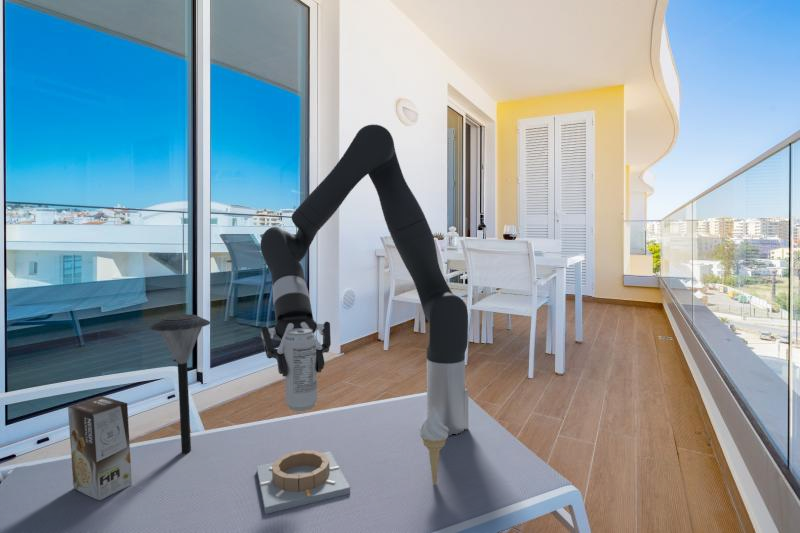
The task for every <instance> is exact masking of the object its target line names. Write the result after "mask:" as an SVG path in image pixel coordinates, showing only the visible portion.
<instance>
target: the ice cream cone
mask: <svg viewBox="0 0 800 533" xmlns="http://www.w3.org/2000/svg"><path fill="white" fill-rule="evenodd" d="M444 424H445V423H444V422H443V420H442V419H441V418H440V417H439V415H438V413H437V411H436V409H435V408H433V410H432V412H431V413H430V415H429V416H428V418H427V417H426V419H425V421H424V422H423V423H422V425H421V426H420V428H419V434H420V438H421V439H422V442H423V446H424V447H425V448H427V450H428V453H429V462H430V470H431V476H432V477H431V478H432V484H433V485H436V484H437V483H438V472H439V463H440V451H441V449H443V447H445V446H446V441H447V438H449V435H448V433H447V432H449V429H448V427H446V426H445V425H444Z"/></svg>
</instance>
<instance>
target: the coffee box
mask: <svg viewBox="0 0 800 533" xmlns="http://www.w3.org/2000/svg"><path fill="white" fill-rule="evenodd" d="M67 413H68V426H69V427H68V428H69V441H70V452H71V453H70V455H71V456H70V457H71V467H72V468H71V469H72V484H73V489H74V490H75V489H76V490H75V491H77V490H78V491H77V492H80V493H82V494H84V495H86V496H88V497H89V498H90V497H91V498H92V499H95V500H97V501H102V500H104V499H105V498H108V497H109V496H112V495H114V494H116V493H118V492H119V491H122V490H123V489H126V488H128V487H130V486H132V484H133V482H132V481H133V480H132V466H131V465H132V464H131V463H132V462H131V449H130V448H131V447H130V446H131V444H130V429H129V426H130V425H129V414H128V413H129V412H128V402H124V401H120V400H116V399H114V398H113V399H112V398H111V397H110V398H109V397H105V396H102V395H101V396H97V397H93V398H90V399H86V400H84V401H80V402H78V403H76V404H72V405H68V406H67Z"/></svg>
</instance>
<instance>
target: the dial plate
mask: <svg viewBox="0 0 800 533" xmlns="http://www.w3.org/2000/svg"><path fill="white" fill-rule="evenodd" d="M334 457H335V456H334V455H333V454H332V452H331V451H324V452H320V451H317V450H307V449H306V450H305V449H304V450H303V449H302V450H298V451H297V450H296V451H293V452H292V451H291V452H289V453H286V454H284V455H282V456H280V457H279V458H277V459H276V460H274V462H271V463H265V464H260V465H256V475H257V479H258V484H259V489H260V493H261V499H262V503H263V510H264V514H265V515H267V514H271V513H275V512H280V511H283V510H287V509H288V510H289V509H292V508H297V507H301V506H304V505H308V504H313V503H316V502H320V501H321V502H322V501H325V500H330V499H334V498H336V497H337V498H338V497H340V496H341V497H342V496H345V495H350V494H351V486H350V484H349V483H348V480H347V479H346V477H345V475H344V474H343V472H342V470H341V468H340V466H339V465H338V462H337V461H336V459H335V458H334Z"/></svg>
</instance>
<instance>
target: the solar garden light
mask: <svg viewBox="0 0 800 533" xmlns="http://www.w3.org/2000/svg"><path fill="white" fill-rule="evenodd" d="M211 323H212V322H211V321H210V320H208V319H205V318H203V317H201V316H199V315H196V314H186V313H185V314H177V315H176V314H175V315H168V316H165V317H163V318H162V319H159V320H158V321H157V322H154V324H152V325H150V326H149V327H148V329H149V331H154V332H159V333H160V336H161V337H162V339H163V340H164V342H165V344H166V346H167V347H168V349H169V351H170V352H171V354H172V356H173V358H174V360H175V361H176V363H177V379H178V381H177V382H178V383H177V384H178V399H179V402H178V403H179V422H180V423H179V424H180V443H181V444H180V445H181V446H180V447H181V453H182V454H188V453H190V452H191V451H192V444H191V442H192V439H191V423H190V421H191V420H190V419H191V418H190V400H189V398H190V397H189V378H188V377H189V376H188V375H189V373H188V361H189V359H190V356H191V354H192V352H193V349H194V347H195V344H196V343H197V340H198V338H199V336H200V333H201V330H202V328H203V327H207V326H209V325H210V324H211Z"/></svg>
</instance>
